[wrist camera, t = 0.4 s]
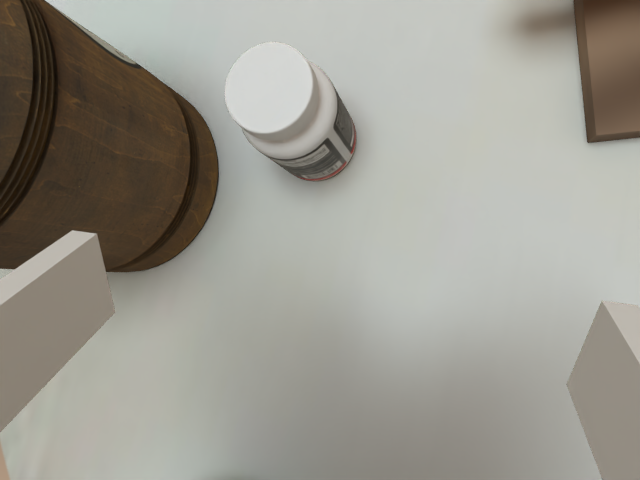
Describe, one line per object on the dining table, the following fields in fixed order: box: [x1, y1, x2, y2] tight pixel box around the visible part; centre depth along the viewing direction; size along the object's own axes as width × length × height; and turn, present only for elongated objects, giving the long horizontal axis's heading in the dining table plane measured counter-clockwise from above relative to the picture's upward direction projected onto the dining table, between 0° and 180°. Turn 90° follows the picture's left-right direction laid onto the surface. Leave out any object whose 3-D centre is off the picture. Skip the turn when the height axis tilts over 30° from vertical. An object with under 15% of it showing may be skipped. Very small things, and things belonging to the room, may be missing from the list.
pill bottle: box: [225, 42, 356, 181], centre depth 27 cm, size 6×6×10 cm
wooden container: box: [0, 0, 218, 272], centre depth 24 cm, size 15×15×22 cm
